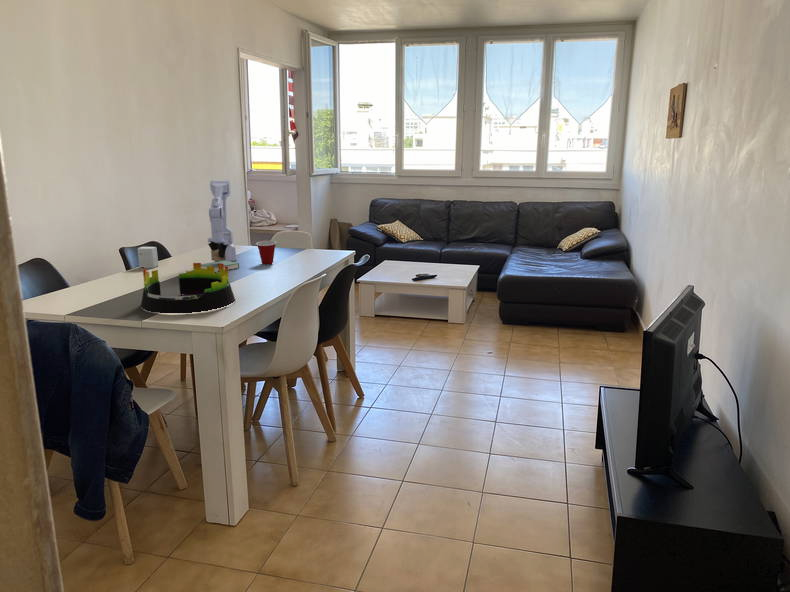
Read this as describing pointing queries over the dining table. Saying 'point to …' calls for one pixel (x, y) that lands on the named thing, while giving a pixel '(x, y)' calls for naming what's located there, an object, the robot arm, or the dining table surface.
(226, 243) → the robot arm
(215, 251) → the walnut block
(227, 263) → the book
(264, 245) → the plastic cup
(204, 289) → the decorative container
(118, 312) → the dining table surface
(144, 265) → the small box
